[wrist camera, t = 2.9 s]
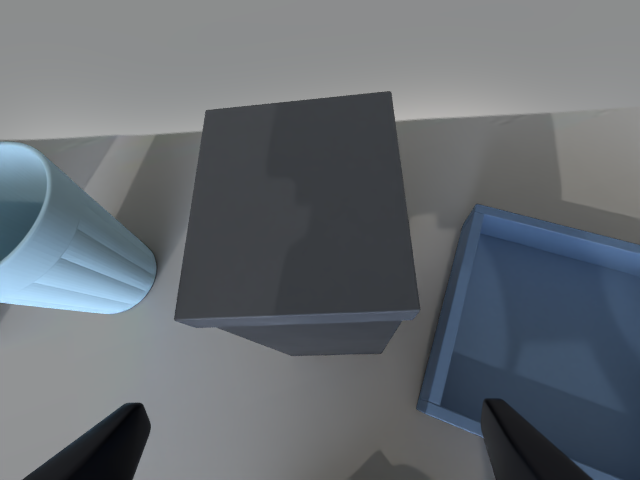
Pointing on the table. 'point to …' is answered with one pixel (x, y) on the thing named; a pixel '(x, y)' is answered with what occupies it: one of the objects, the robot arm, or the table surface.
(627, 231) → the table surface
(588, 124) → the table surface
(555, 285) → the blue shallow square tray
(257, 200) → the dark grey lidded box
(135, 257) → the cup
